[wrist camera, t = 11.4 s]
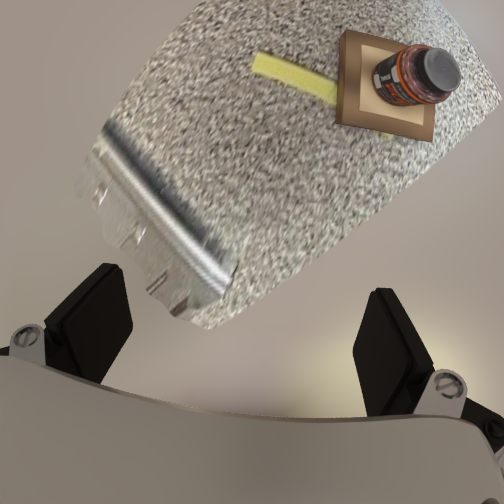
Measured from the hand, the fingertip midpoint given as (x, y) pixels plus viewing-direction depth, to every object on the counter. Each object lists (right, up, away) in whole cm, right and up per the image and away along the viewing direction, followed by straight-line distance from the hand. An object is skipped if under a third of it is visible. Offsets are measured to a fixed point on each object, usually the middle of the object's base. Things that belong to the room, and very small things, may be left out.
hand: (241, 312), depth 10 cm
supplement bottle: (+17, +22, +15) cm, 31 cm away
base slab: (+17, +23, +19) cm, 35 cm away
